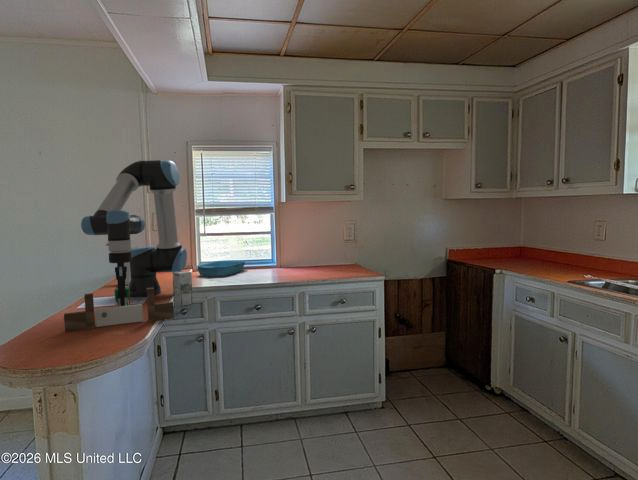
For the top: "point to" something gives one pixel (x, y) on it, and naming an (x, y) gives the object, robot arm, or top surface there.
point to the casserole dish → (220, 268)
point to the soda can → (126, 295)
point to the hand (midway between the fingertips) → (123, 313)
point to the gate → (119, 315)
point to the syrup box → (182, 288)
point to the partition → (87, 318)
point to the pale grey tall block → (128, 270)
